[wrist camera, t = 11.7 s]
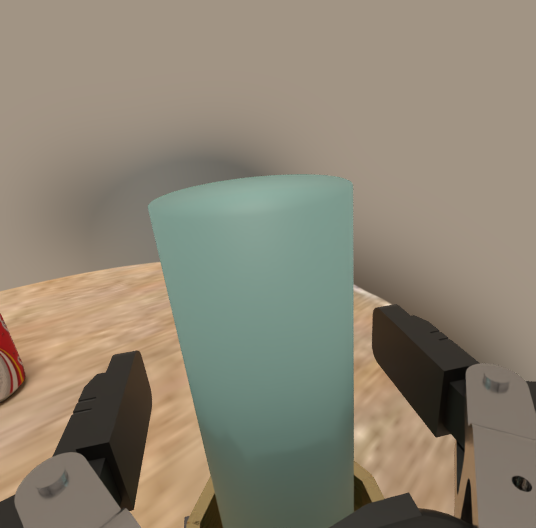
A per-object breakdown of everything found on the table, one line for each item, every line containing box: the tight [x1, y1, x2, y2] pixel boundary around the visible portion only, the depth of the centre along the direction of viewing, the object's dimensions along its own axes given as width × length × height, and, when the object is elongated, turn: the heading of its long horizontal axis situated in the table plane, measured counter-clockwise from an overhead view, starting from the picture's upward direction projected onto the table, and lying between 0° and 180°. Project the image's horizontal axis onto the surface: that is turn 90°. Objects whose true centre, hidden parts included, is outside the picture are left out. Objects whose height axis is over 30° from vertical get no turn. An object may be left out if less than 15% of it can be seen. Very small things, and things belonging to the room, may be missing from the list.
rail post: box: [148, 174, 354, 528], centre depth 11 cm, size 4×4×16 cm
